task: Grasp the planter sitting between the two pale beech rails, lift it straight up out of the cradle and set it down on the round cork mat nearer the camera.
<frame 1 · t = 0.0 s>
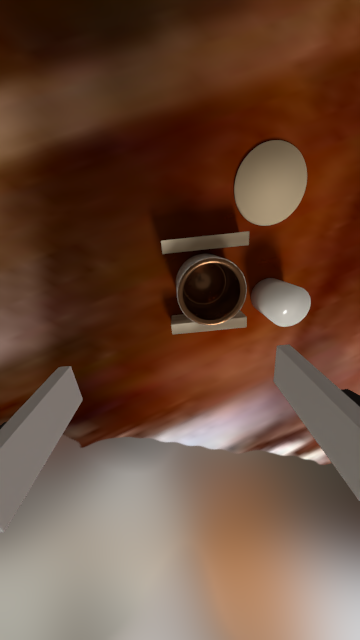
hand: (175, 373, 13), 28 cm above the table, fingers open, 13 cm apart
cradle: (203, 282, 39), on the table
planter: (203, 282, 39), on the table
mat: (269, 186, 33), on the table
white cylinder: (267, 295, 40), on the table
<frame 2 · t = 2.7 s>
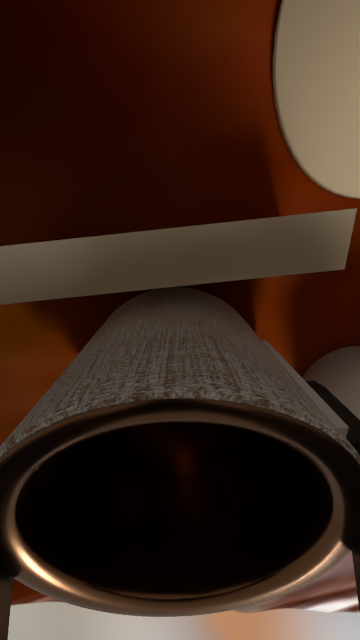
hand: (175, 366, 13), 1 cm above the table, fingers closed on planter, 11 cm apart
cradle: (175, 357, 14), on the table
planter: (175, 356, 15), on the table, touching gripper
white cylinder: (342, 384, 16), on the table
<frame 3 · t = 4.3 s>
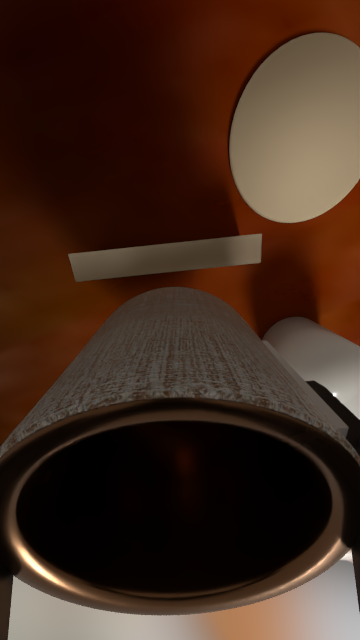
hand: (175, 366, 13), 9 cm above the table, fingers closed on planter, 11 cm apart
cradle: (176, 324, 22), on the table
planter: (175, 356, 15), point 7 cm above the table, touching gripper
mat: (301, 142, 16), on the table
white cylinder: (290, 344, 23), on the table
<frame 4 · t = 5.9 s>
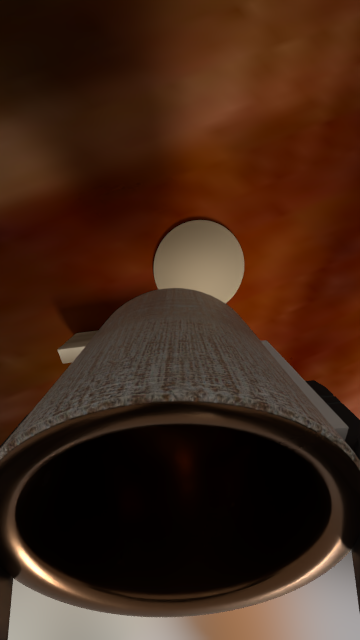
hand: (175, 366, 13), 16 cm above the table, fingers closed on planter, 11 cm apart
cradle: (134, 373, 32), on the table
planter: (175, 357, 15), point 14 cm above the table, touching gripper
mat: (198, 270, 26), on the table
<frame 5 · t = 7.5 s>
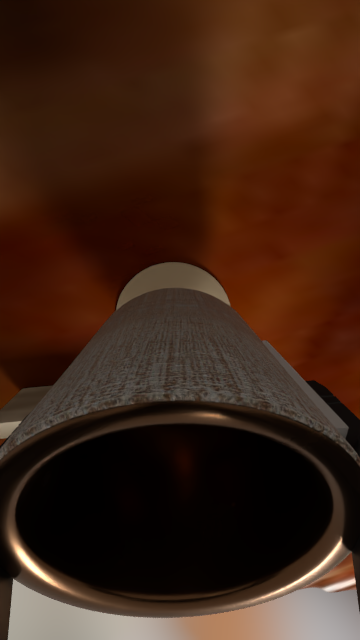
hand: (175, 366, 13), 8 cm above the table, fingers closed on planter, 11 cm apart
cradle: (97, 431, 26), on the table
planter: (175, 357, 15), point 7 cm above the table, touching gripper
mat: (174, 320, 21), on the table
when the fingers open (3 cm above the table, at t = 8.9 s): planter drops 1 cm, resting on mat.
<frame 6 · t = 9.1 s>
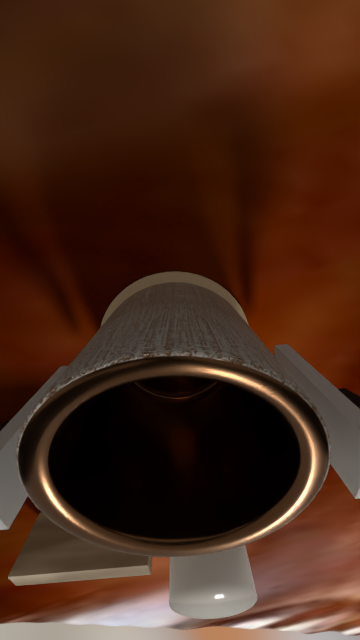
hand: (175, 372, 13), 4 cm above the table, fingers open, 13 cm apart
cradle: (82, 475, 22), on the table
planter: (175, 346, 16), resting on mat
mat: (175, 345, 16), on the table
white cylinder: (200, 486, 23), on the table
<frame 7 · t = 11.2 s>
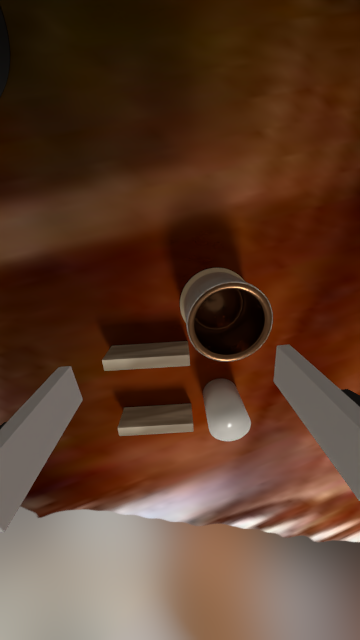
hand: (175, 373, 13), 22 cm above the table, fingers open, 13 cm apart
cradle: (154, 380, 39), on the table
planter: (215, 303, 33), resting on mat
mat: (214, 303, 34), on the table
white cylinder: (219, 392, 40), on the table
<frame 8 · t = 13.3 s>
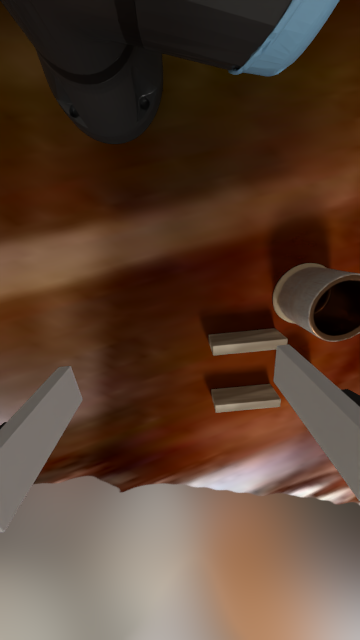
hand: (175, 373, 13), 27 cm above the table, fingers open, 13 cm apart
cradle: (241, 364, 44), on the table
planter: (304, 294, 38), resting on mat
mat: (302, 294, 39), on the table
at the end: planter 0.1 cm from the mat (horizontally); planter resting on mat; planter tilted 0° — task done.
